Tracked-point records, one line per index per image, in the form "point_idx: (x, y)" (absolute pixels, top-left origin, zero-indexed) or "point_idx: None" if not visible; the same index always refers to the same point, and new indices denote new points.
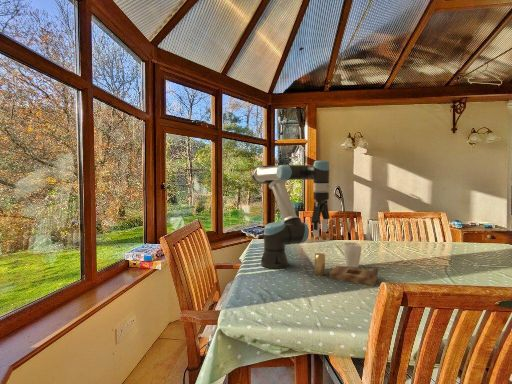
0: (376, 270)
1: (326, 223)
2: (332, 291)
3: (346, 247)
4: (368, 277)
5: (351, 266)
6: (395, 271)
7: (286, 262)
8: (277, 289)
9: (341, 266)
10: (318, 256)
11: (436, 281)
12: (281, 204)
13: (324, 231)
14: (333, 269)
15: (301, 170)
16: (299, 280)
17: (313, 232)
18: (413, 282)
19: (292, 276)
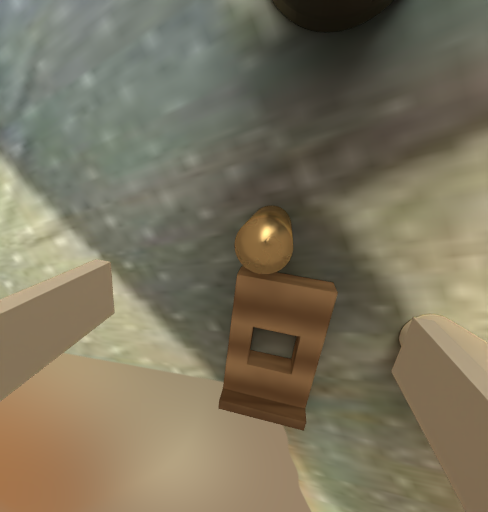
0: (272, 421)
1: (467, 495)
2: (137, 284)
3: None
4: (233, 386)
5: (400, 335)
6: (389, 452)
7: (325, 16)
8: (59, 118)
9: (326, 311)
10: (235, 242)
11: (325, 509)
12: None
13: (402, 346)
14: (272, 284)
15: None
16: (169, 166)
17: (60, 277)
18: (297, 466)
19: (197, 123)
